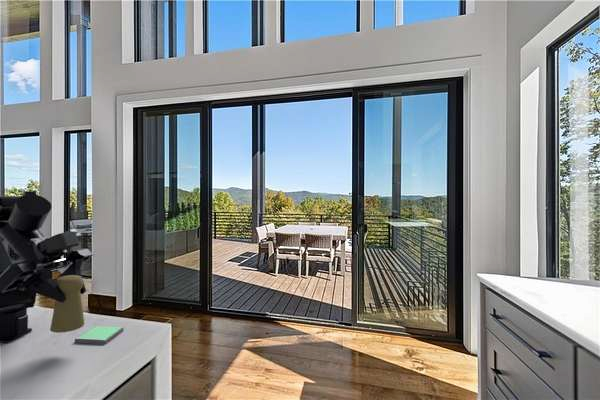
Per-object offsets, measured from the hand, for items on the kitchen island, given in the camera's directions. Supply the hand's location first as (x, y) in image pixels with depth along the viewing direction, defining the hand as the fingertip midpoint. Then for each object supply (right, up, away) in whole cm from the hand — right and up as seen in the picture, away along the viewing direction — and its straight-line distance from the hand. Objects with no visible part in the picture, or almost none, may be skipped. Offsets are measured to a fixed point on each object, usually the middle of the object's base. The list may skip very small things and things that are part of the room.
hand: (74, 296), depth 68 cm
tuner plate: (+1, -12, +7) cm, 14 cm away
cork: (-2, -7, 0) cm, 7 cm away
